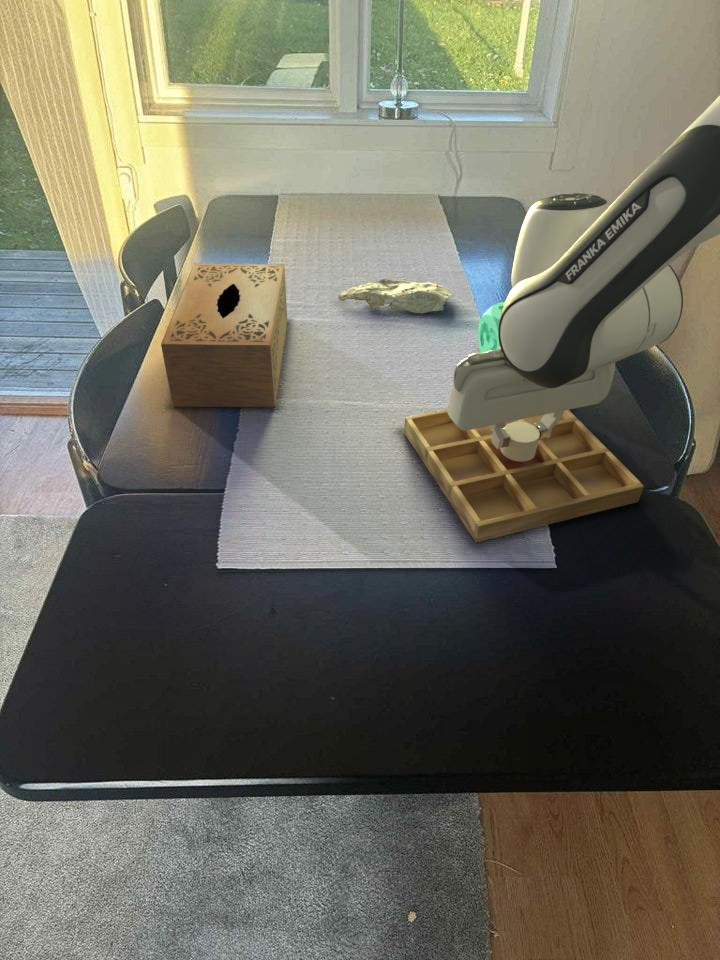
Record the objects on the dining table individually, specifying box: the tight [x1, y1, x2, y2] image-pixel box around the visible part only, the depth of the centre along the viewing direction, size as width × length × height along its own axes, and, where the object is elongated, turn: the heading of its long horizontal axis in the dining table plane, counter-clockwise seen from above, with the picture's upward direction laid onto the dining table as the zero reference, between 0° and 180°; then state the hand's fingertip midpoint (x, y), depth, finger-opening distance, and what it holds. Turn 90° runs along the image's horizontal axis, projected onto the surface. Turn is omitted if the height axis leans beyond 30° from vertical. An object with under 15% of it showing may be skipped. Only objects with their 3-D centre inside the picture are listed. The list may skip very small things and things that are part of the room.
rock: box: [337, 277, 452, 314], centre depth 126 cm, size 19×11×2 cm, turn 75°
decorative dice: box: [477, 300, 506, 353], centre depth 108 cm, size 8×8×8 cm
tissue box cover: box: [160, 262, 288, 408], centre depth 106 cm, size 26×14×10 cm, turn 1°
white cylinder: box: [501, 422, 540, 462], centre depth 88 cm, size 4×4×3 cm
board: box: [403, 408, 645, 543], centre depth 89 cm, size 22×22×3 cm
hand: (520, 440), depth 87 cm, fingers closed on white cylinder, 4 cm apart
